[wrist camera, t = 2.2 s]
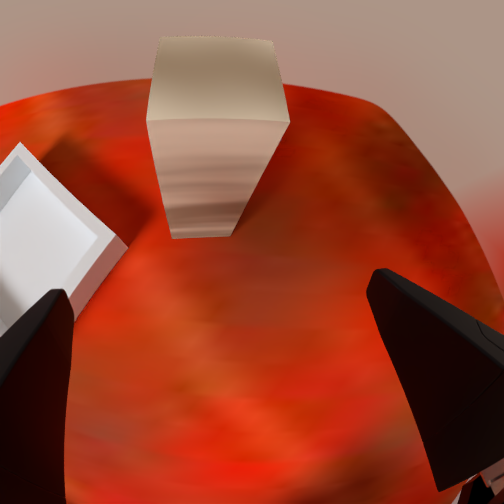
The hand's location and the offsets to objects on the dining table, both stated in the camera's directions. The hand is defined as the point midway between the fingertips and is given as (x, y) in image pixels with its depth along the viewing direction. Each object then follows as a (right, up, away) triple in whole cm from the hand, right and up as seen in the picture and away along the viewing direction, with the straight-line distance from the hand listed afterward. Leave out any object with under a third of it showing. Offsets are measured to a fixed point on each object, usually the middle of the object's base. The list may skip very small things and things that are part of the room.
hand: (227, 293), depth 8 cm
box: (-16, 0, +9) cm, 18 cm away
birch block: (-3, +4, +12) cm, 13 cm away
